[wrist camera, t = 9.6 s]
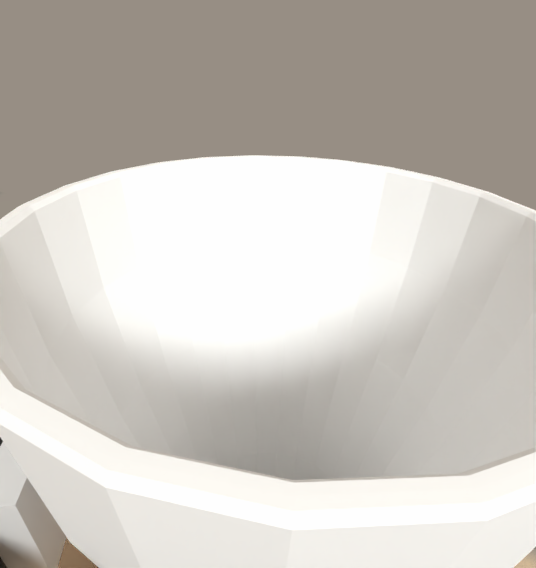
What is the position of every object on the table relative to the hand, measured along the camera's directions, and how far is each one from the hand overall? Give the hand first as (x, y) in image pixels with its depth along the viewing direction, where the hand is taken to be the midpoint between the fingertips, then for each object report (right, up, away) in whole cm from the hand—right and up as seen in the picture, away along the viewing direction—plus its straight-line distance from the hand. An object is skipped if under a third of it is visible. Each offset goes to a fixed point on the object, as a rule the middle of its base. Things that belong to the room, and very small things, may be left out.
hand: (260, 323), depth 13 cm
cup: (0, -9, +1) cm, 9 cm away
